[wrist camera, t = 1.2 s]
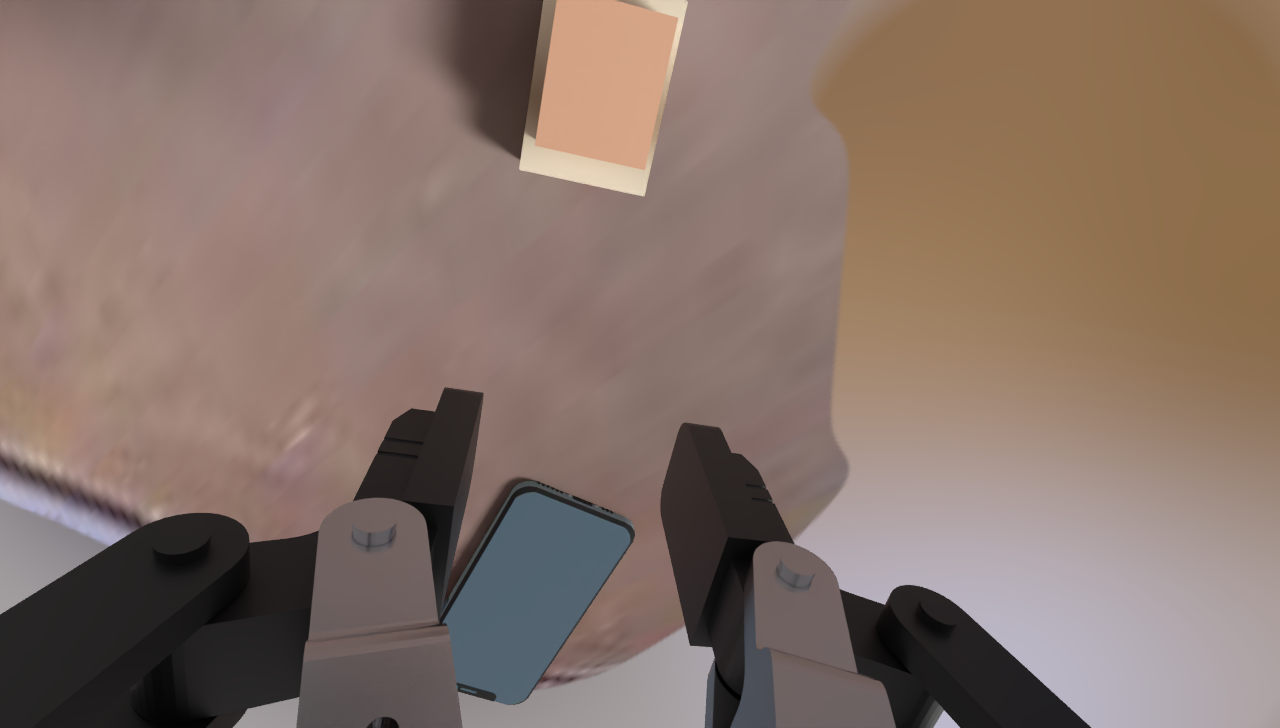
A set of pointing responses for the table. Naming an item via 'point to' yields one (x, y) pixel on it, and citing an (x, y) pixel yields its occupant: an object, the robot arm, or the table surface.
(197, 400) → the table surface
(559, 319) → the table surface
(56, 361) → the table surface
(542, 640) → the smartphone
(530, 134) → the deck
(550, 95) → the tile
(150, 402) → the table surface
